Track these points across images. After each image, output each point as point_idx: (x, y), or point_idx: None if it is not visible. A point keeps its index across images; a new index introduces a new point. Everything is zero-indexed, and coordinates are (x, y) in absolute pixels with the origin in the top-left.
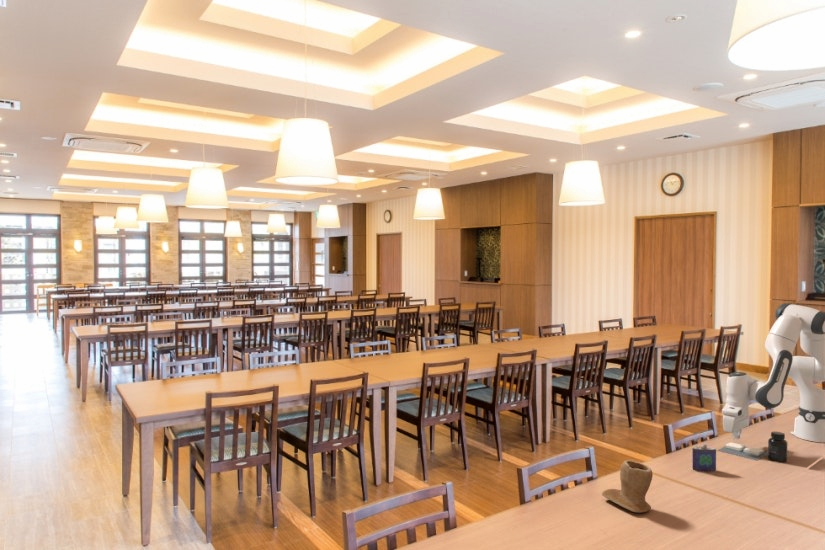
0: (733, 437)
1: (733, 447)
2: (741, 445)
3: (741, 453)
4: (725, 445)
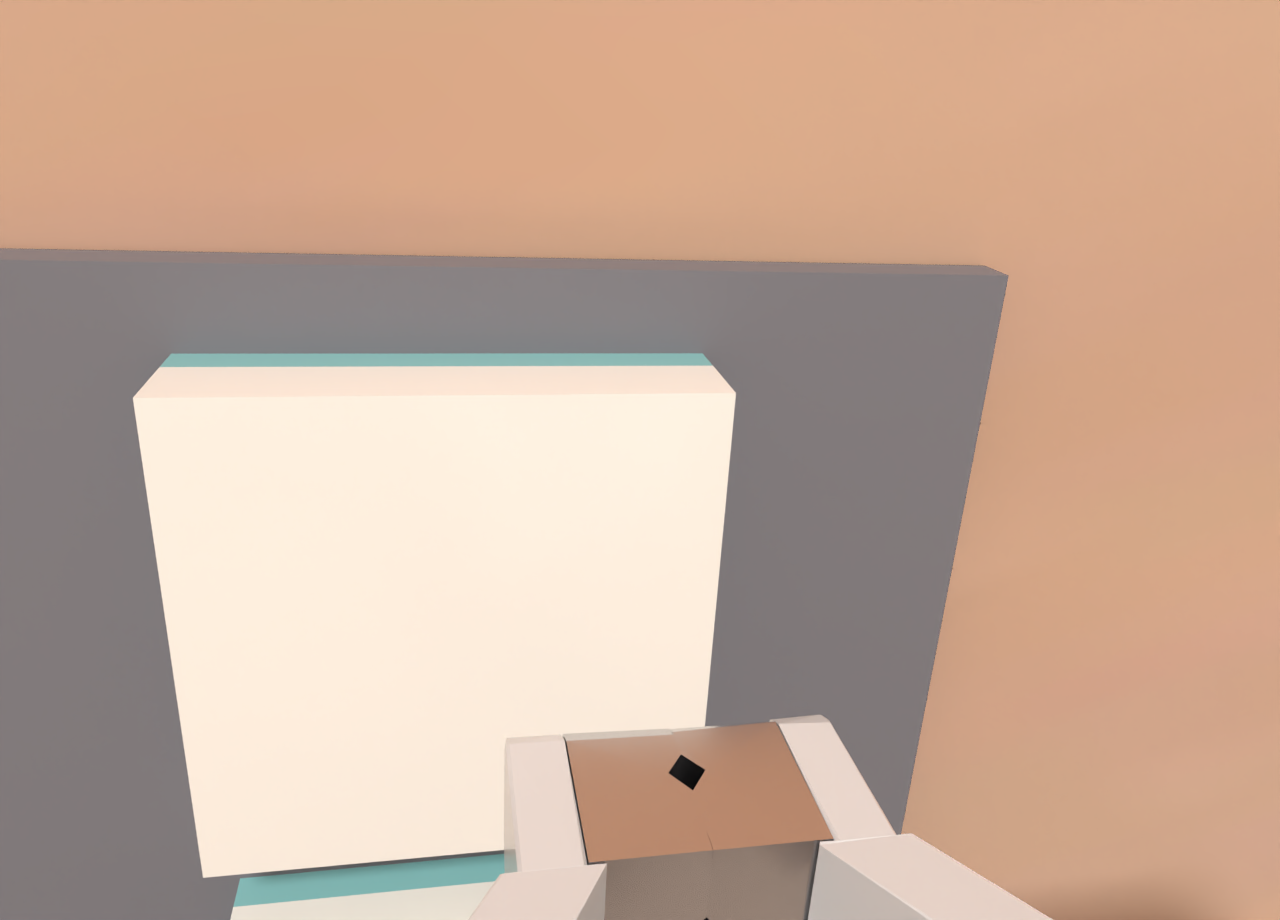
0: (506, 781)
1: (178, 689)
2: None
3: (105, 881)
4: (140, 407)
